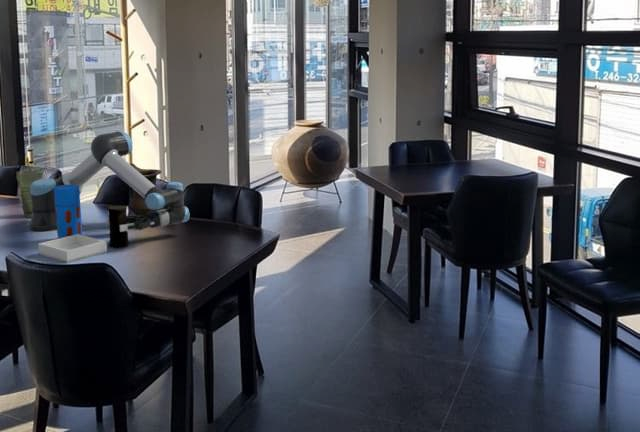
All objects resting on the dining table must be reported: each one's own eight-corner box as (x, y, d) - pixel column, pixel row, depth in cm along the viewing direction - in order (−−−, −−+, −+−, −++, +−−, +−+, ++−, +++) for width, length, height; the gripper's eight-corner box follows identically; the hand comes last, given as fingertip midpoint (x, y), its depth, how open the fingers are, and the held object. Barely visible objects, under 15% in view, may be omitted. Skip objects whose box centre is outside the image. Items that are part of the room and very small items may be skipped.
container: (120, 242, 338) (118, 203, 334) (133, 245, 333) (131, 206, 329) (104, 246, 331) (102, 207, 327) (118, 249, 326) (115, 209, 322)
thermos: (87, 238, 345) (83, 185, 339) (73, 243, 335) (68, 189, 329) (68, 236, 348) (64, 183, 342) (53, 241, 338) (48, 188, 333)
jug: (175, 222, 374) (172, 164, 367) (148, 230, 359) (145, 169, 352) (145, 217, 385) (142, 160, 378) (118, 224, 370) (114, 165, 363)
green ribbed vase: (18, 218, 383) (13, 170, 377) (30, 212, 394) (26, 166, 389) (38, 218, 381) (33, 171, 375) (50, 213, 393) (46, 167, 387)
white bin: (39, 254, 318) (38, 243, 317) (78, 244, 333) (77, 234, 332) (67, 263, 306) (66, 251, 305) (106, 252, 322) (106, 241, 321)
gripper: (170, 231, 333) (126, 239, 320) (145, 221, 352) (102, 228, 339) (169, 215, 331) (125, 222, 318) (144, 205, 350) (101, 212, 337)
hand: (113, 225), depth 328 cm, fingers open, 13 cm apart
